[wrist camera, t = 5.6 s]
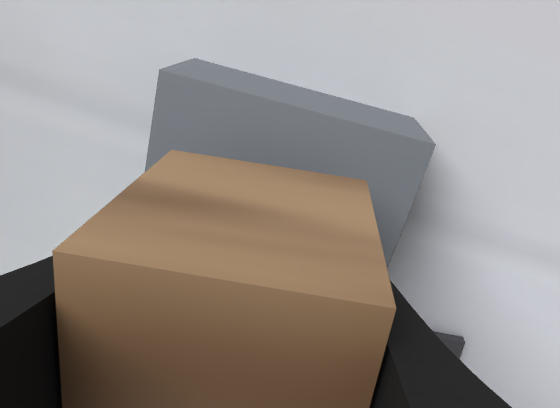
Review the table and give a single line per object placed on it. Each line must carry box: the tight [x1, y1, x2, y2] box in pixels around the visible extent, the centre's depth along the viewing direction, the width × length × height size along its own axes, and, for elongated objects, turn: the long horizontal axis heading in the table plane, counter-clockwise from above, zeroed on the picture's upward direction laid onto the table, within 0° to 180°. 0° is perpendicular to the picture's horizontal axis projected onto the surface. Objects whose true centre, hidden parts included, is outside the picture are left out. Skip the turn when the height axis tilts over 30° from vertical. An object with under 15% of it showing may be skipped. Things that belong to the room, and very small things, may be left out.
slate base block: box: [145, 58, 436, 267], centre depth 14 cm, size 7×7×4 cm
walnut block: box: [52, 150, 396, 408], centre depth 9 cm, size 4×4×5 cm
